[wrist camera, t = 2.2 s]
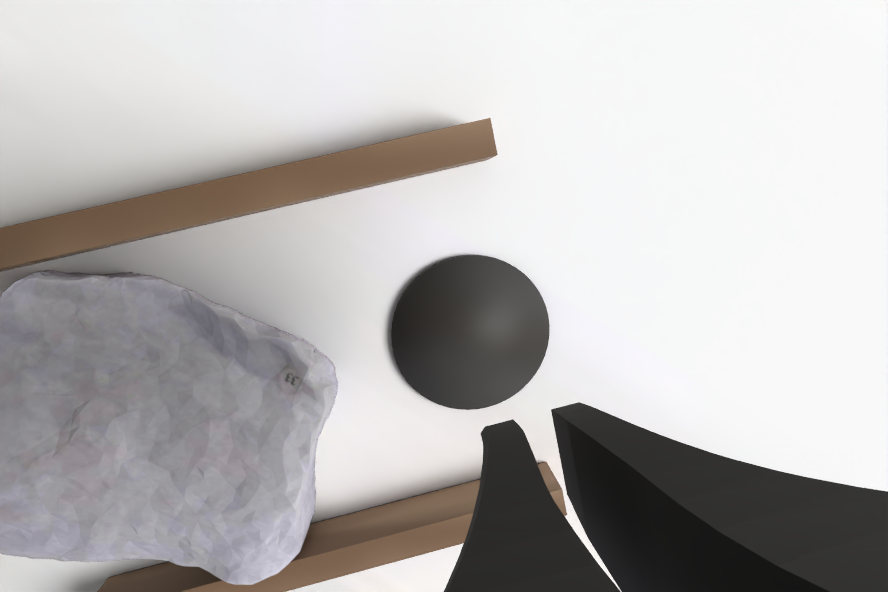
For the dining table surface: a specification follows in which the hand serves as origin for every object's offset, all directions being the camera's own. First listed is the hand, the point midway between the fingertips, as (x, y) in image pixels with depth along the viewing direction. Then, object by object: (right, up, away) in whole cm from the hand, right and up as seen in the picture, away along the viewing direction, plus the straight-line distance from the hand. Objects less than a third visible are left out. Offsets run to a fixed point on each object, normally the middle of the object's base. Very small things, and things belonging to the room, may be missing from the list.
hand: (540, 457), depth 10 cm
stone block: (-12, -1, +9) cm, 15 cm away
